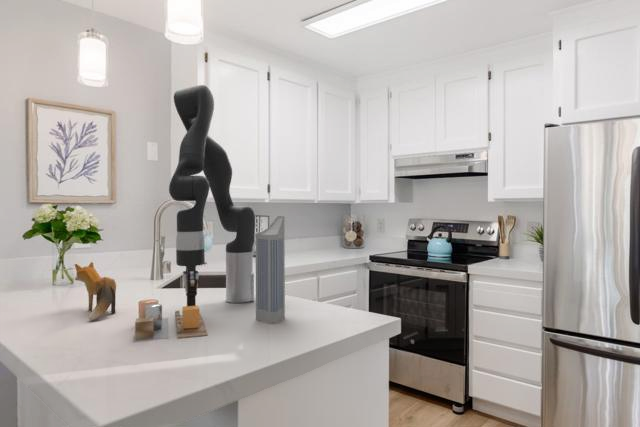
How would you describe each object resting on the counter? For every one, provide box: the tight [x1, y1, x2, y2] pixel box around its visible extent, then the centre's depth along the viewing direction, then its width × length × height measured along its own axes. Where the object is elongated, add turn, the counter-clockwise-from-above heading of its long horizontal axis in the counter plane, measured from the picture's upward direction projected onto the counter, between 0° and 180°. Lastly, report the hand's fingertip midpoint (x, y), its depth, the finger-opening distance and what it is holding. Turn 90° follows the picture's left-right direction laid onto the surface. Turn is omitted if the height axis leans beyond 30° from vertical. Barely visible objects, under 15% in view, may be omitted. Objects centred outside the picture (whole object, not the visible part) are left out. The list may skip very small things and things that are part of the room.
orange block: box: [181, 305, 200, 329], centre depth 113 cm, size 4×4×5 cm
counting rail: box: [174, 310, 209, 339], centre depth 116 cm, size 23×7×3 cm, turn 20°
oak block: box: [134, 317, 154, 339], centre depth 106 cm, size 4×4×4 cm
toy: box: [74, 261, 117, 321], centre depth 133 cm, size 11×29×15 cm, turn 43°
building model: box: [254, 215, 286, 325], centre depth 126 cm, size 8×8×30 cm
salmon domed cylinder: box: [138, 298, 159, 318], centre depth 118 cm, size 5×5×6 cm
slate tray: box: [132, 317, 170, 343], centre depth 113 cm, size 8×21×1 cm, turn 20°
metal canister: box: [146, 303, 163, 330], centre depth 113 cm, size 4×4×6 cm
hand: (191, 309), depth 121 cm, fingers closed
